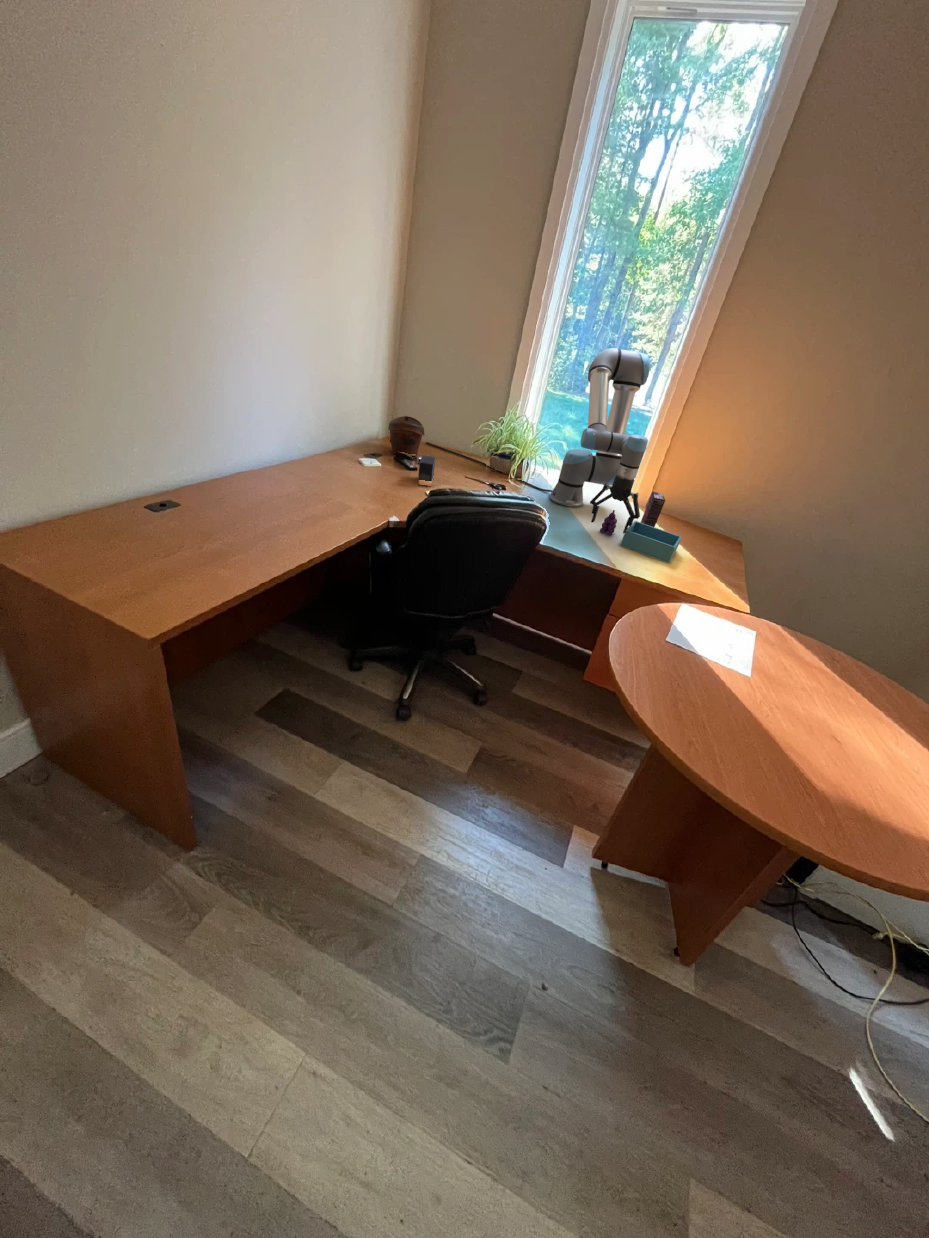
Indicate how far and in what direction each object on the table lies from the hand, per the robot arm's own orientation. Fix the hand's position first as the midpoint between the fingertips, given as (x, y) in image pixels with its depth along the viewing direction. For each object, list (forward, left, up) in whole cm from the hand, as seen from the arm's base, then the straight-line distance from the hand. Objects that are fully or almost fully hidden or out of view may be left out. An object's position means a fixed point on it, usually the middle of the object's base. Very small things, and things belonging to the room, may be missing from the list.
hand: (608, 527), depth 202 cm
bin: (+18, +1, -3) cm, 18 cm away
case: (-113, +9, -3) cm, 114 cm away
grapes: (0, +1, -3) cm, 3 cm away
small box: (-83, -15, -3) cm, 84 cm away
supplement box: (+12, +20, -3) cm, 23 cm away
